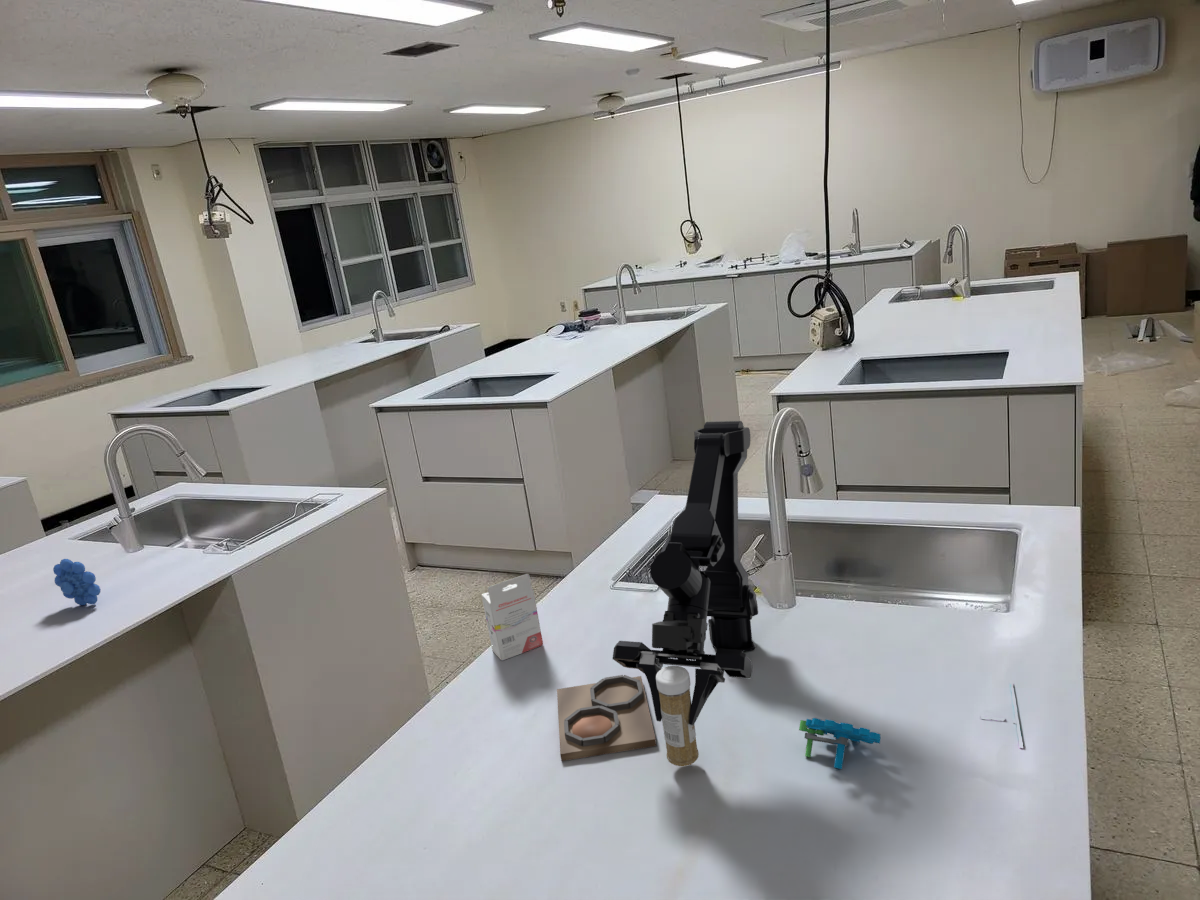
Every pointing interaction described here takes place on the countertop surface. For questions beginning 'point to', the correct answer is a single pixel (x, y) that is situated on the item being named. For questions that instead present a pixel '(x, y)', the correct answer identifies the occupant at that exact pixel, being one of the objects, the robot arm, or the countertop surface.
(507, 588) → the ink cartridge box
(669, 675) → the sprinkles bottle
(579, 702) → the board
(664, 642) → the robot arm
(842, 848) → the countertop surface
